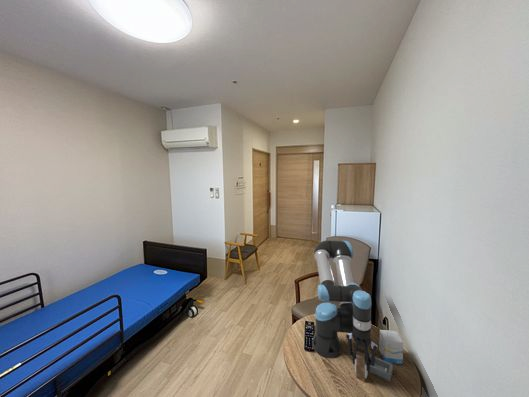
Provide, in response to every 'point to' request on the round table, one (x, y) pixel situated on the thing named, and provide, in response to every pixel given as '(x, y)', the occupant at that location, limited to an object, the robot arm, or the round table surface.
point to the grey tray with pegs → (381, 369)
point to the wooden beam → (360, 364)
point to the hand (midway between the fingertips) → (361, 373)
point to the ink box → (391, 346)
